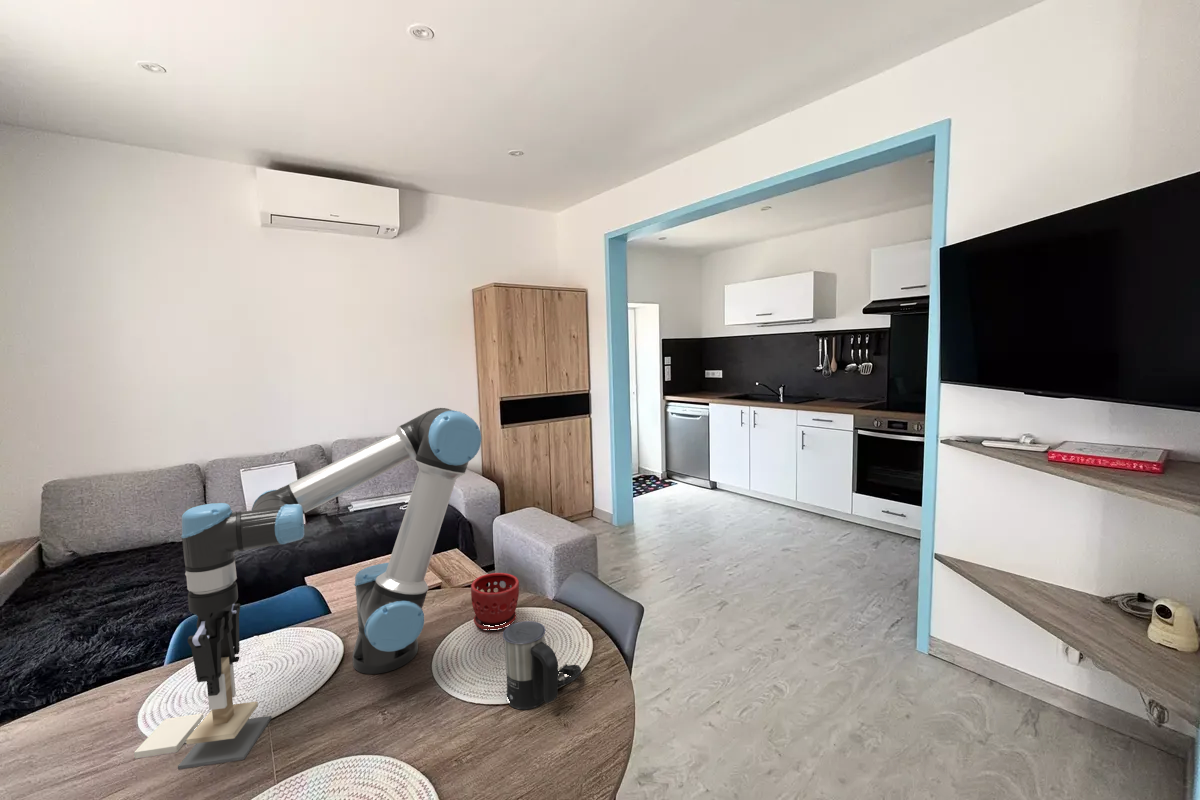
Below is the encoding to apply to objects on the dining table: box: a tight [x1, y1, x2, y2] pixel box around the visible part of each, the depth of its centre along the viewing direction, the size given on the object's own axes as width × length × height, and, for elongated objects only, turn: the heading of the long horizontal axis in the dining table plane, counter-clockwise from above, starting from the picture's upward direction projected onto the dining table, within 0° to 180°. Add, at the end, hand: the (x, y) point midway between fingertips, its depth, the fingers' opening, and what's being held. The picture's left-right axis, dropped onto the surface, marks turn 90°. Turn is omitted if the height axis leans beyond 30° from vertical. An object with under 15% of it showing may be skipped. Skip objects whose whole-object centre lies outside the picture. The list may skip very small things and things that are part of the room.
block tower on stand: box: [185, 657, 259, 746], centre depth 98 cm, size 8×9×13 cm
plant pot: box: [470, 572, 520, 630], centre depth 141 cm, size 13×13×12 cm
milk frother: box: [502, 620, 582, 710], centre depth 112 cm, size 14×16×15 cm
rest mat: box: [177, 715, 272, 770], centre depth 99 cm, size 11×11×1 cm
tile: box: [133, 713, 205, 760], centre depth 100 cm, size 7×2×9 cm
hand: (222, 702), depth 98 cm, fingers closed on block tower on stand, 2 cm apart
